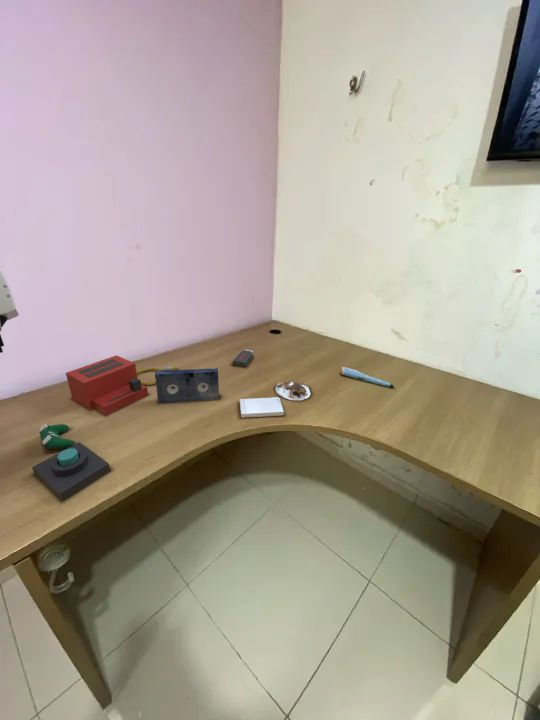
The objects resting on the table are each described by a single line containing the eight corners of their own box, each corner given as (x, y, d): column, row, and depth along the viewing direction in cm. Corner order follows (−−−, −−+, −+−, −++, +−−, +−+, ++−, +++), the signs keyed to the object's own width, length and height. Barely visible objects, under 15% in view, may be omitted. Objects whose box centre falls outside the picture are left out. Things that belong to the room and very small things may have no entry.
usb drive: (232, 365, 119) (232, 359, 118) (242, 353, 130) (242, 347, 128) (245, 367, 118) (245, 361, 117) (254, 355, 128) (254, 349, 127)
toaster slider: (130, 389, 95) (128, 380, 93) (136, 386, 96) (135, 377, 95) (134, 391, 93) (133, 383, 92) (141, 388, 95) (140, 380, 94)
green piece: (59, 436, 81) (35, 430, 77) (69, 424, 81) (45, 417, 77) (66, 456, 75) (40, 450, 70) (76, 443, 75) (51, 436, 71)
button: (56, 461, 66) (54, 455, 65) (73, 452, 69) (71, 446, 68) (64, 469, 64) (62, 462, 63) (82, 459, 67) (80, 452, 66)
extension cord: (174, 386, 103) (173, 381, 102) (125, 386, 102) (124, 381, 101) (181, 369, 114) (180, 364, 113) (137, 369, 113) (136, 364, 112)
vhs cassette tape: (219, 395, 99) (218, 367, 95) (219, 400, 97) (218, 372, 92) (159, 398, 96) (155, 369, 92) (157, 403, 94) (154, 374, 90)
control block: (34, 474, 67) (29, 460, 65) (81, 449, 75) (77, 435, 73) (62, 501, 61) (57, 486, 60) (110, 470, 69) (107, 457, 67)
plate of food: (318, 396, 101) (320, 386, 100) (287, 404, 96) (287, 394, 94) (300, 380, 110) (301, 371, 109) (270, 387, 105) (270, 377, 104)
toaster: (72, 399, 94) (65, 372, 90) (120, 379, 106) (116, 354, 102) (102, 417, 86) (96, 389, 82) (151, 393, 98) (147, 368, 95)
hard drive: (279, 396, 97) (239, 398, 95) (284, 411, 90) (241, 413, 88) (278, 401, 98) (239, 402, 96) (283, 416, 90) (241, 418, 89)
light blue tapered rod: (339, 375, 115) (340, 368, 114) (342, 372, 118) (343, 365, 117) (393, 390, 107) (395, 383, 106) (395, 386, 110) (396, 379, 108)
